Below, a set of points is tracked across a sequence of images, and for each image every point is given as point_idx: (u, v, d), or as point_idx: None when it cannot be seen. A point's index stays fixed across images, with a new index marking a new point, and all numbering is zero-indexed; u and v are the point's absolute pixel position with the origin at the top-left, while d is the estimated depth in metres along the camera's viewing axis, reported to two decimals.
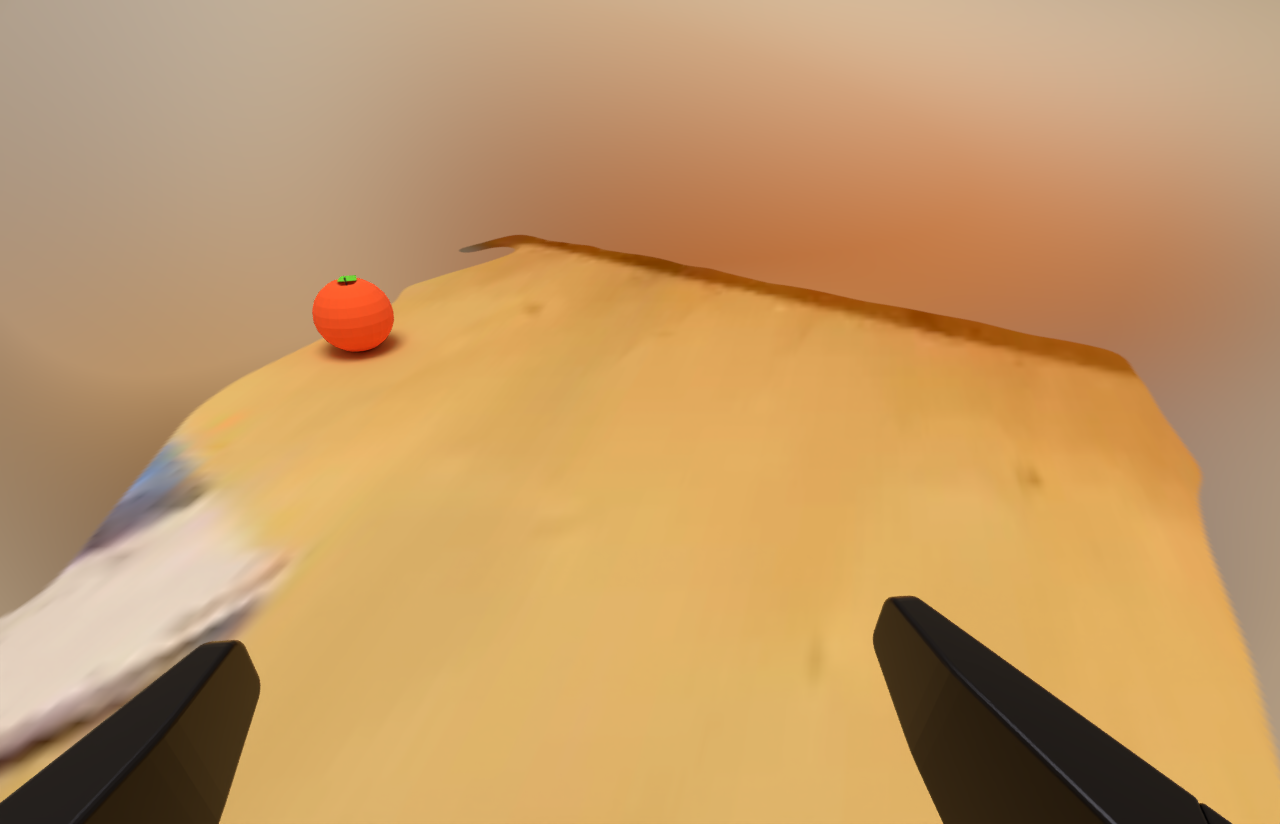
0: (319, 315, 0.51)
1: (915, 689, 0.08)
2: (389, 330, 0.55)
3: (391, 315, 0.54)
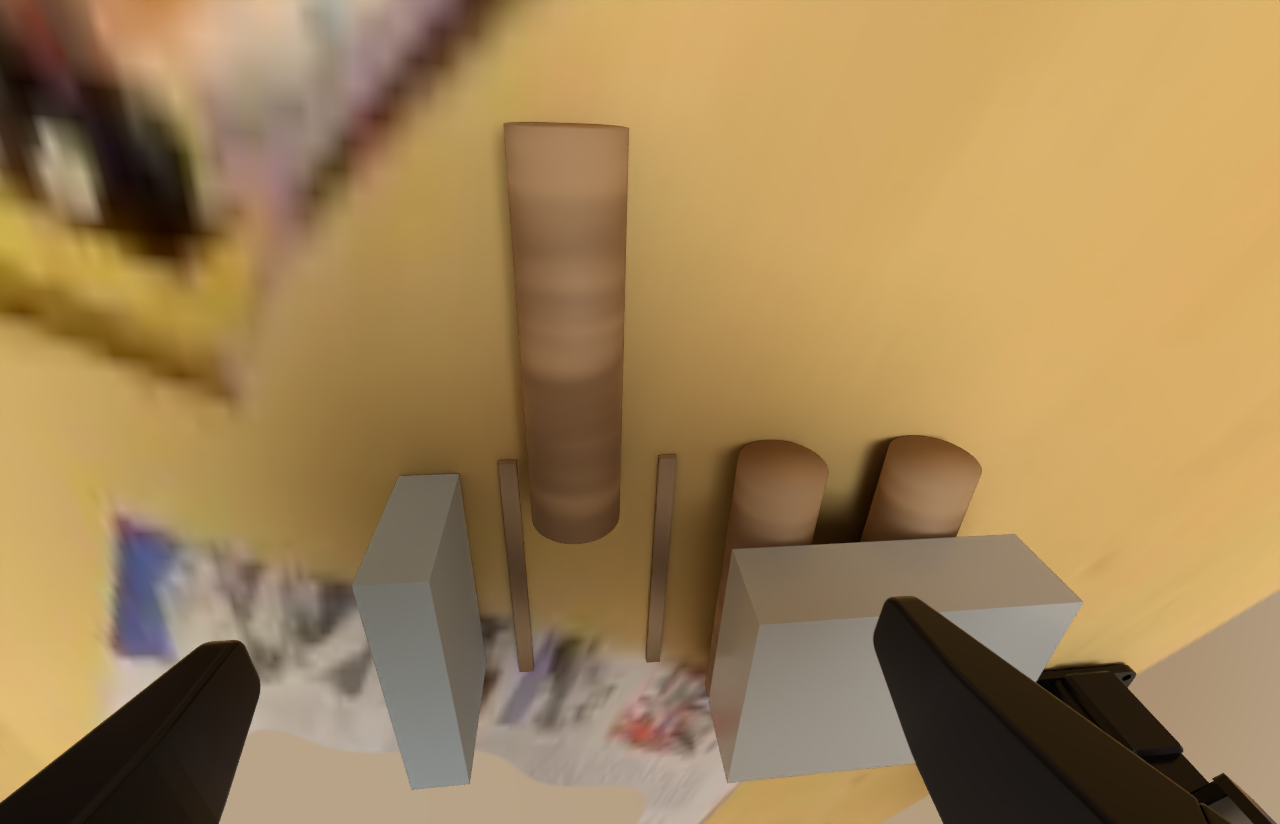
0: None
1: (915, 689, 0.08)
2: None
3: None
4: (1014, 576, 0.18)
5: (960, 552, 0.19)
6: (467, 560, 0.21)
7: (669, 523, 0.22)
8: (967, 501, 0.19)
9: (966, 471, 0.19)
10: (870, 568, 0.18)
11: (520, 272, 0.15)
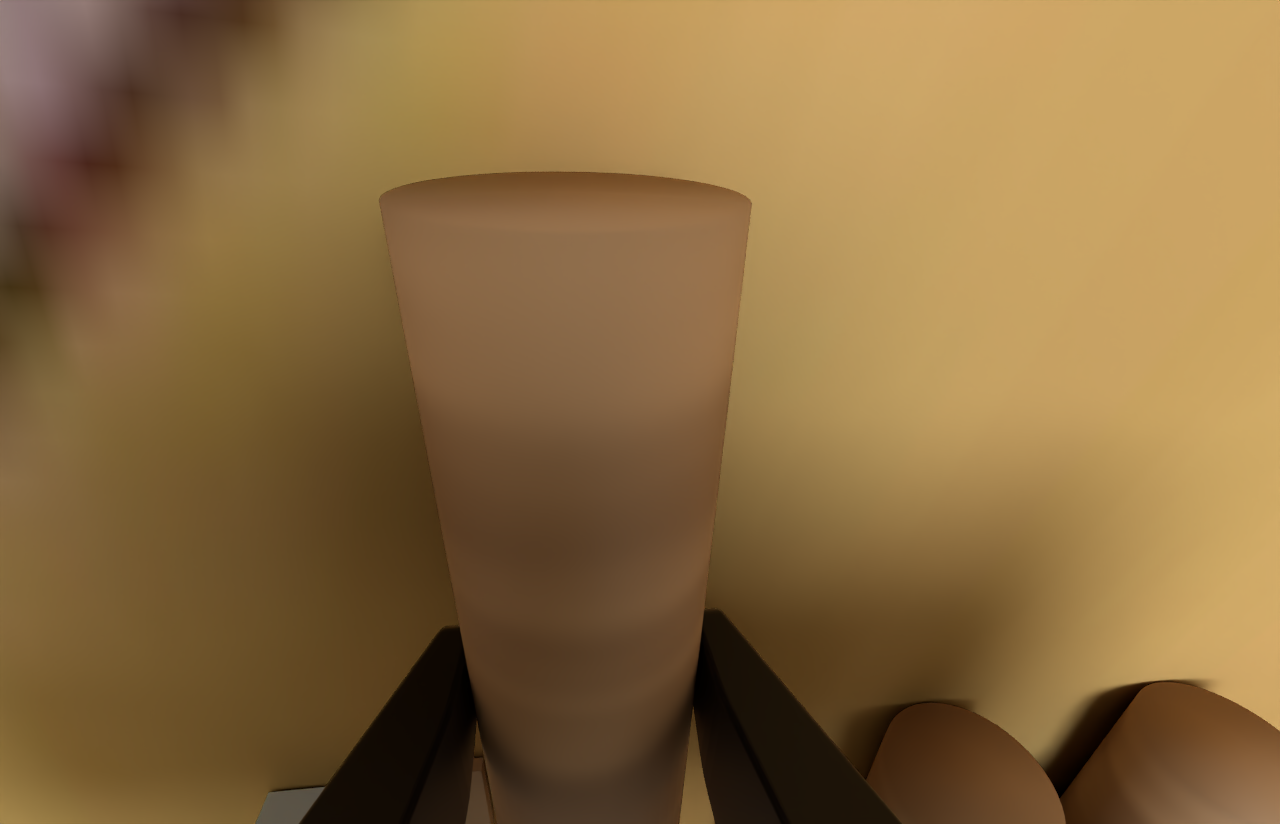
0: None
1: (703, 707, 0.07)
2: None
3: None
4: None
5: None
6: None
7: None
8: None
9: None
10: None
11: (453, 565, 0.06)
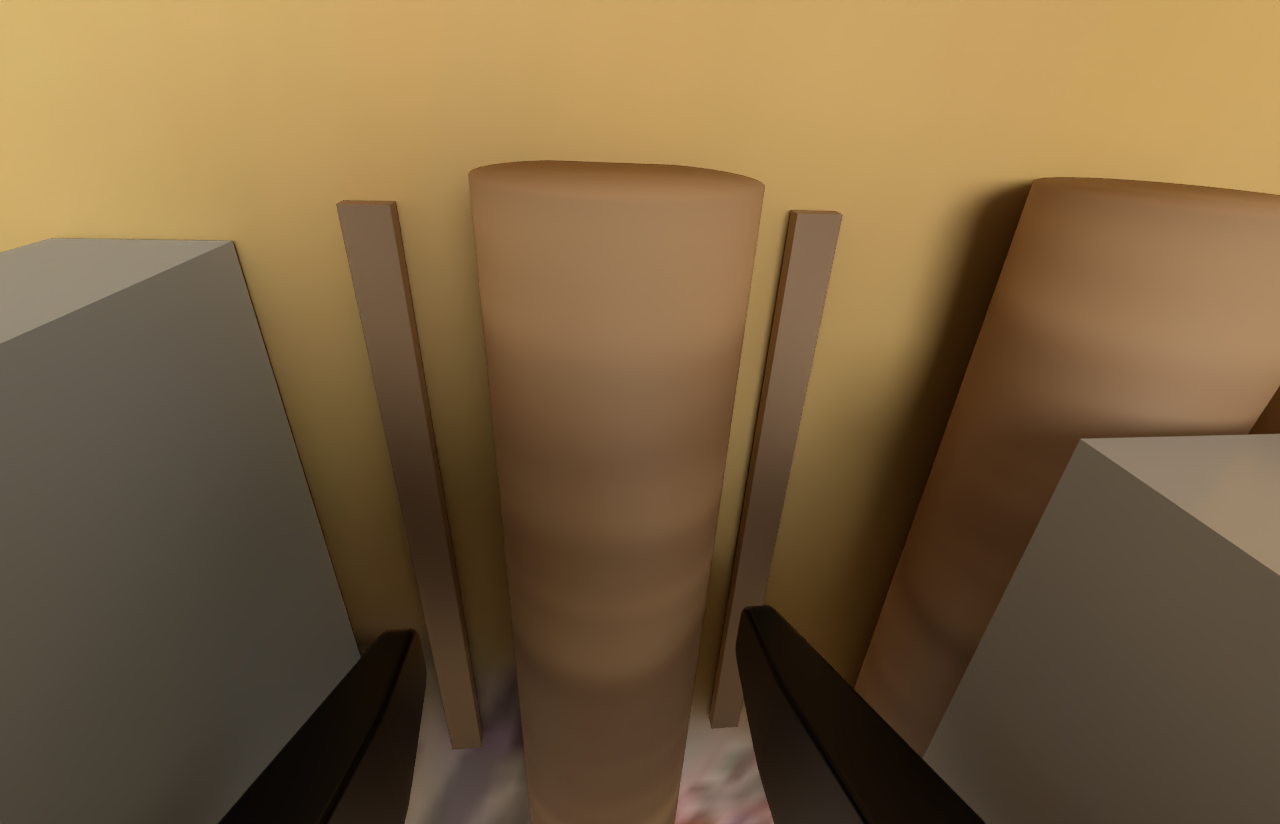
0: None
1: (759, 702, 0.07)
2: None
3: None
4: None
5: None
6: (286, 497, 0.08)
7: (797, 415, 0.09)
8: None
9: None
10: None
11: (510, 489, 0.07)
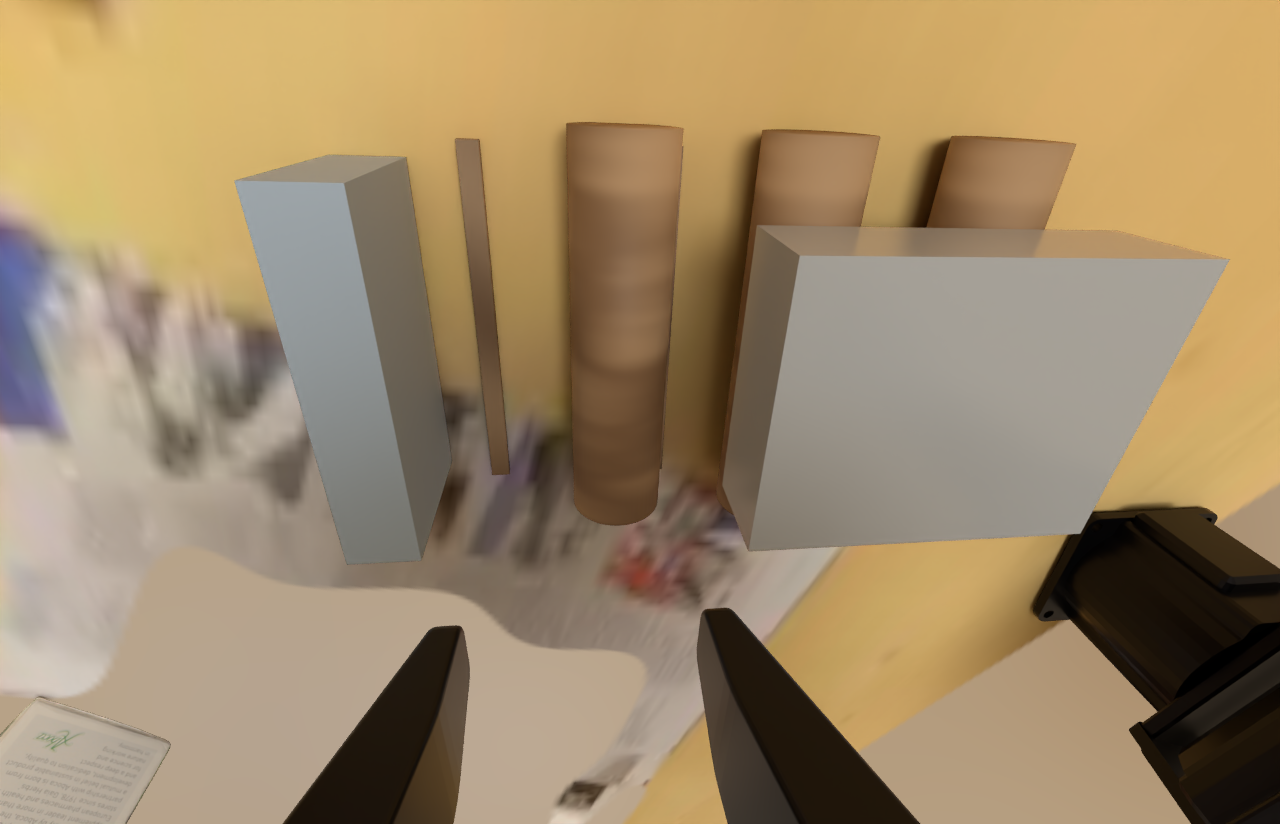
0: None
1: (715, 706, 0.07)
2: None
3: None
4: (1129, 247, 0.14)
5: (1053, 235, 0.14)
6: (420, 288, 0.17)
7: None
8: (1057, 183, 0.15)
9: (1056, 143, 0.15)
10: (939, 238, 0.14)
11: (622, 272, 0.15)
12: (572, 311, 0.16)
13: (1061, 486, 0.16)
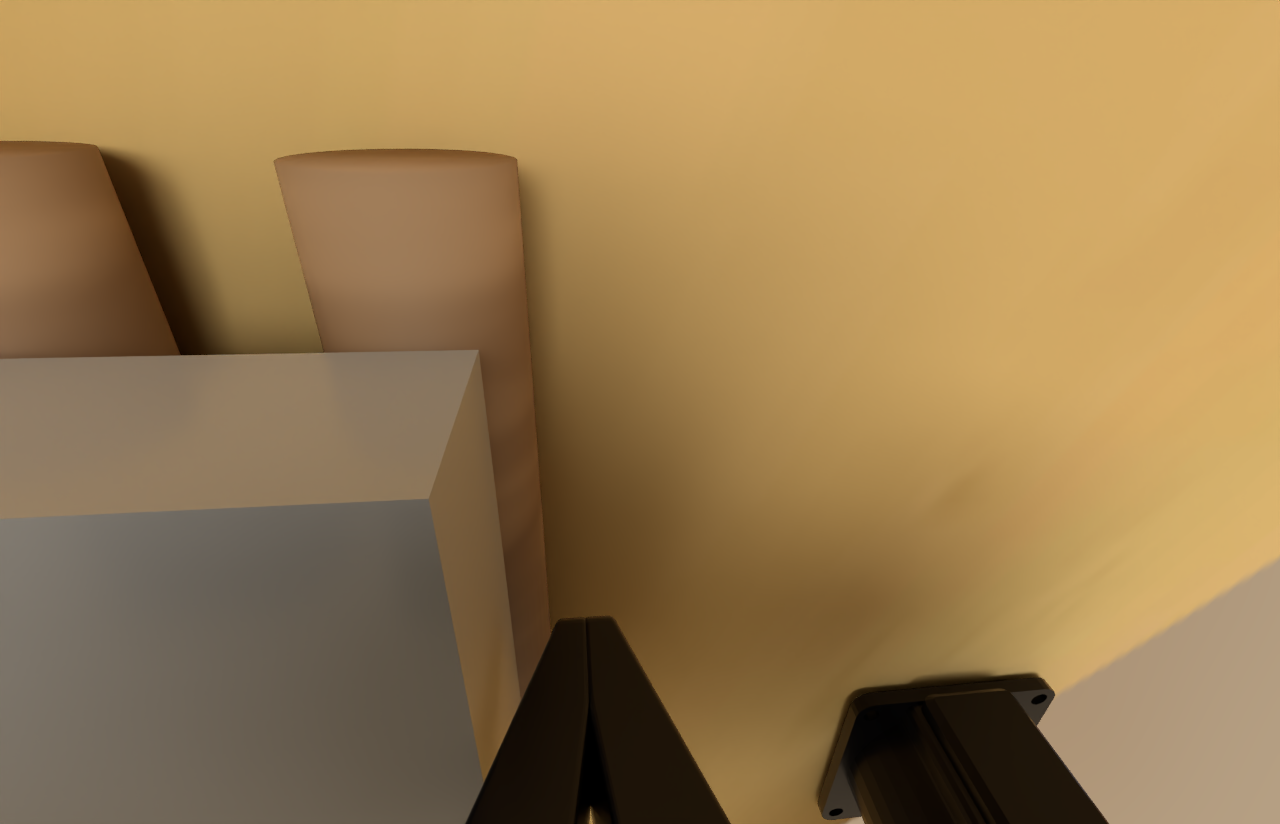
0: None
1: None
2: None
3: None
4: (301, 431, 0.05)
5: (238, 379, 0.06)
6: None
7: None
8: (450, 251, 0.07)
9: (443, 167, 0.07)
10: None
11: None
12: None
13: None
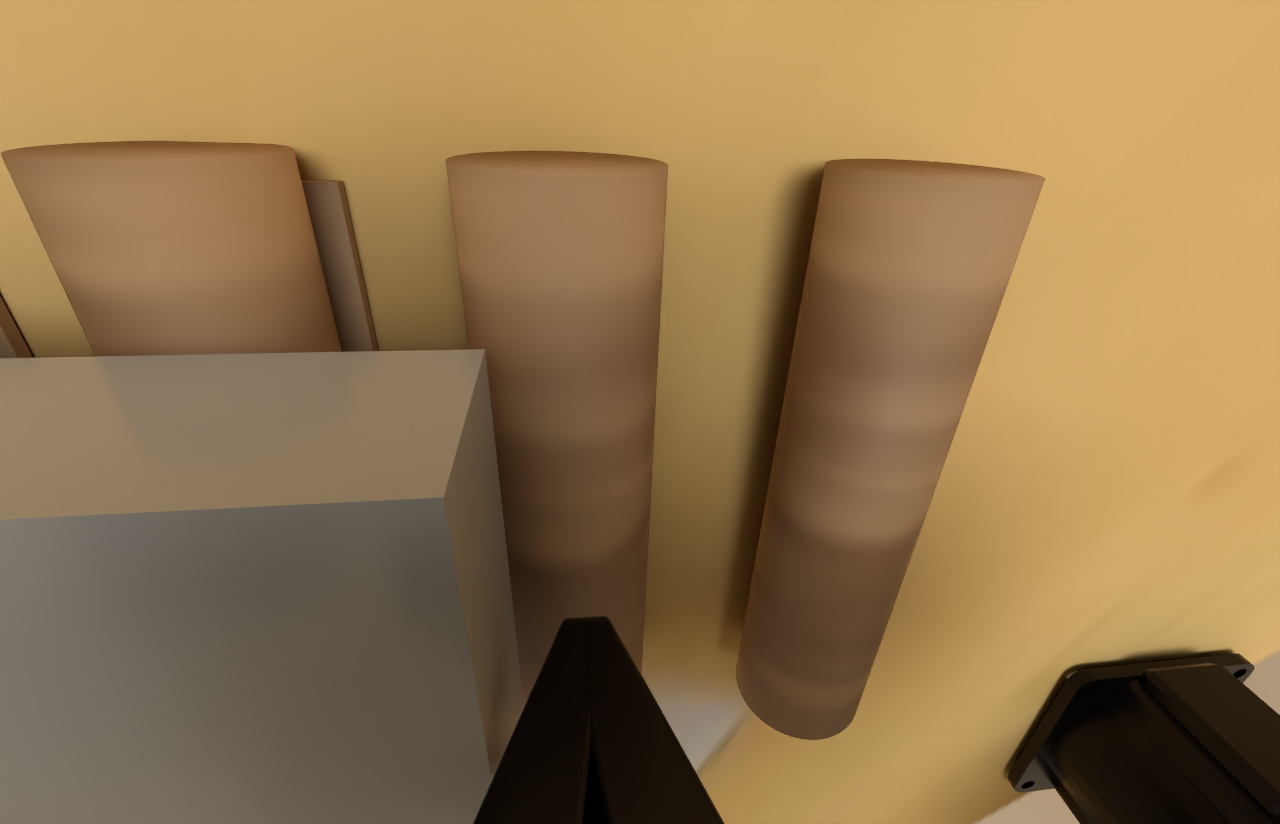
0: None
1: None
2: None
3: None
4: (311, 430, 0.05)
5: (244, 378, 0.06)
6: None
7: None
8: (1010, 252, 0.08)
9: (1007, 177, 0.08)
10: None
11: None
12: None
13: None
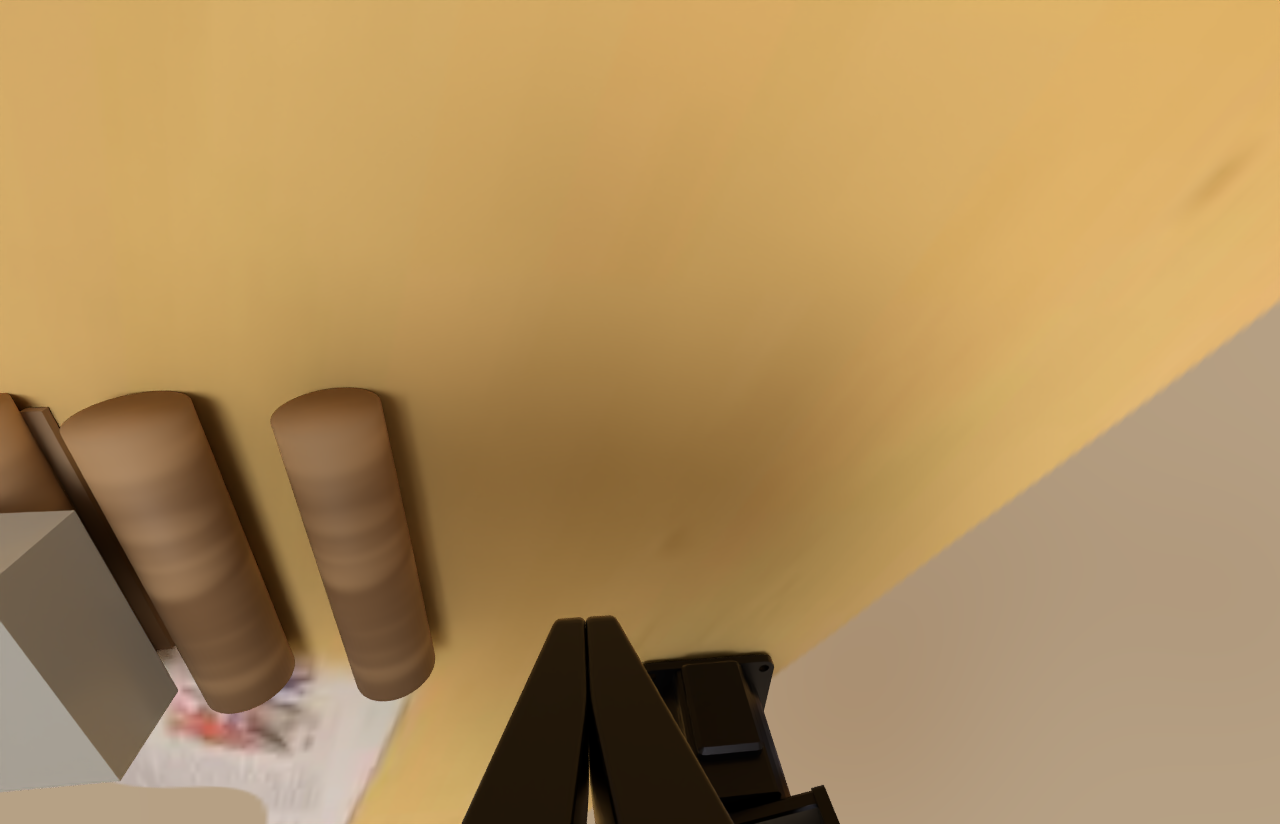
0: None
1: (588, 717, 0.07)
2: None
3: None
4: None
5: None
6: None
7: (82, 489, 0.19)
8: (344, 458, 0.17)
9: (341, 423, 0.17)
10: None
11: None
12: None
13: (41, 751, 0.16)
